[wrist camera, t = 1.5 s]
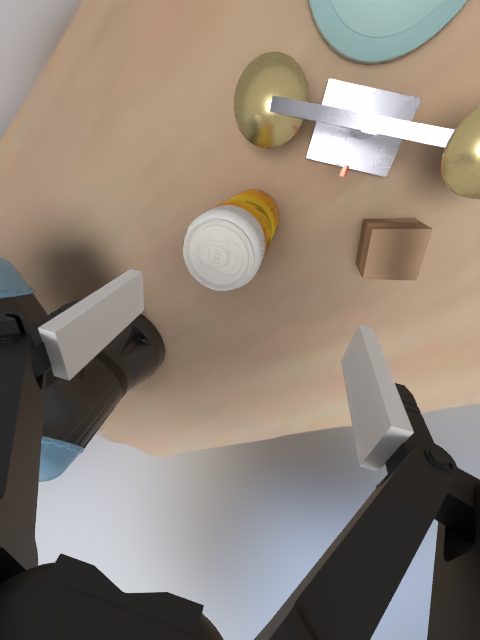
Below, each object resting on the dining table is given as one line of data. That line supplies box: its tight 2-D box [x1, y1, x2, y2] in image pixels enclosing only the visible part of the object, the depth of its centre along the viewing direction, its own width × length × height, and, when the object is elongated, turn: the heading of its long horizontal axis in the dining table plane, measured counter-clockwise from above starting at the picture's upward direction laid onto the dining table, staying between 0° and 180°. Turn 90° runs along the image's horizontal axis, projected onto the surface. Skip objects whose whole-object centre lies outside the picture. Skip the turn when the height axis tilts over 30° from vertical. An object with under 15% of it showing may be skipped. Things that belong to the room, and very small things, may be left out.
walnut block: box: [356, 218, 432, 280], centre depth 27 cm, size 5×5×5 cm
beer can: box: [183, 190, 279, 291], centre depth 25 cm, size 6×6×15 cm
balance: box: [234, 52, 480, 199], centre depth 21 cm, size 22×7×9 cm, turn 79°
